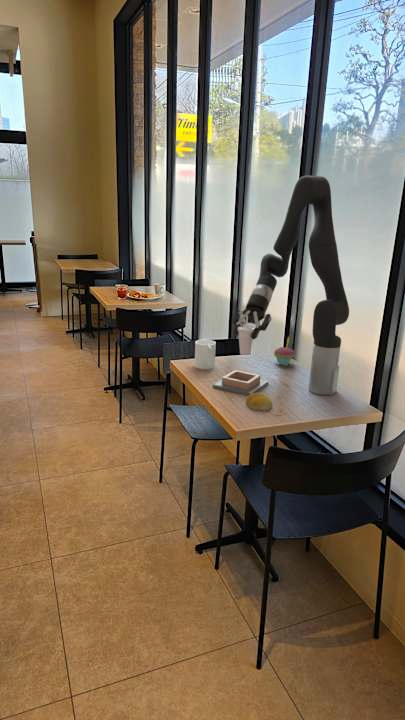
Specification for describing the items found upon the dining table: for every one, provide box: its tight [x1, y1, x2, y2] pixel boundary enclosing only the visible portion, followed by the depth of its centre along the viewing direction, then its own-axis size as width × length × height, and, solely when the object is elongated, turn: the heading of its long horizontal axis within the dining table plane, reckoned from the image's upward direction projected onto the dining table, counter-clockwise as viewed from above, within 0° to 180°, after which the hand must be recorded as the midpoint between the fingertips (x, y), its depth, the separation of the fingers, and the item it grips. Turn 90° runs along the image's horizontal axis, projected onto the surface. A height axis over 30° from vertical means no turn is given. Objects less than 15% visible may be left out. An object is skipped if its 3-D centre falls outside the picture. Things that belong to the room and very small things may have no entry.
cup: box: [194, 339, 217, 370], centre depth 193 cm, size 8×12×10 cm
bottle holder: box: [212, 369, 269, 397], centre depth 175 cm, size 15×15×4 cm
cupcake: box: [273, 336, 296, 366], centre depth 202 cm, size 9×8×12 cm
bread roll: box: [245, 392, 273, 412], centre depth 159 cm, size 8×9×4 cm
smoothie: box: [238, 316, 255, 356], centre depth 174 cm, size 6×6×14 cm
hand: (244, 336), depth 173 cm, fingers closed on smoothie, 6 cm apart
